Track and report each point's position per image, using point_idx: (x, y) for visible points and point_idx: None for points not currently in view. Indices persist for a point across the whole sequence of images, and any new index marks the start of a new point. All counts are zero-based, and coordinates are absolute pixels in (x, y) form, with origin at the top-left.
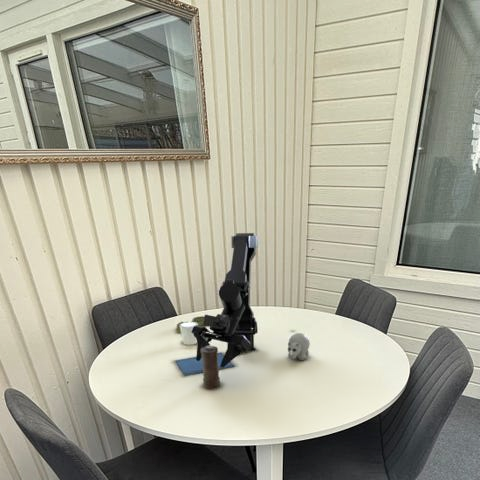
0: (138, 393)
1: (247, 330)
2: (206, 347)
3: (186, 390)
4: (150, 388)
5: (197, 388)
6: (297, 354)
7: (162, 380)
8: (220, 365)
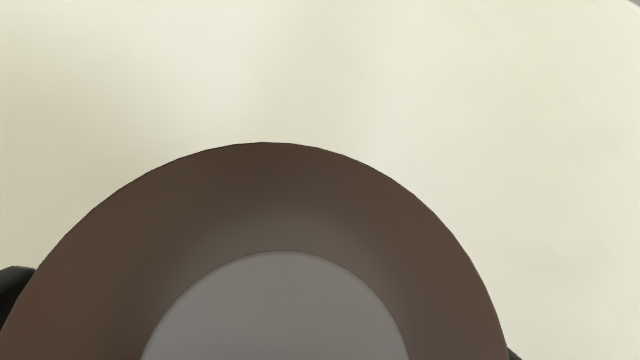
0: (562, 78)
1: None
2: (322, 283)
3: None
4: (561, 140)
5: None
6: None
7: (594, 250)
8: (22, 268)
